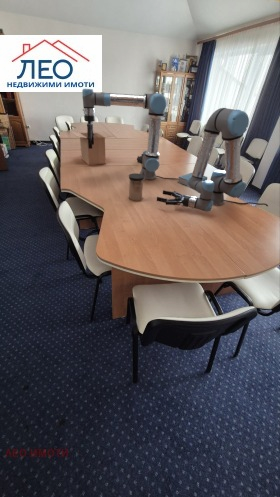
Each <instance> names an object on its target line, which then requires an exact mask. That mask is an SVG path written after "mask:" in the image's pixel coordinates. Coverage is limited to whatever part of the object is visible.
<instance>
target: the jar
mask: <svg viewBox="0 0 280 497" xmlns="http://www.w3.org/2000/svg"><path fill="white" fill-rule="evenodd" d="M143 187H144V180H142V181H133V180H130V179H129V184H128V199H129V200H131V201H135V202H136V201H138V202H139V201H141V200H142V199H143V190H144V188H143Z"/></svg>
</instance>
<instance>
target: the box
mask: <svg viewBox="0 0 280 497" xmlns="http://www.w3.org/2000/svg"><path fill="white" fill-rule="evenodd" d="M70 133H71V134H72V135H74V136H75V137H77V138H79V144H80V153H81V160H83V162H85V163H86V165H87V166H95V165H97V166H98V165H106V163H107V162H106V158H107V157H106V138H113V137H114V136H113V135H111V134H109V133H108V132H105V131H98V132H96V131H95V130H93V133H94V135H93V136H94V145H92V149H89V146H88V139H87V137H88V133H87V130H77V132H76V131H70Z"/></svg>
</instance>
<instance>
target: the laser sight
mask: <svg viewBox="0 0 280 497" xmlns="http://www.w3.org/2000/svg"><path fill="white" fill-rule="evenodd" d="M142 159H143V153H141V155H140V156H139V155H137V157H136V163H140V164H142Z"/></svg>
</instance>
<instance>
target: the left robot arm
mask: <svg viewBox="0 0 280 497" xmlns="http://www.w3.org/2000/svg"><path fill="white" fill-rule="evenodd" d="M81 93H82V94H81V95H82V106H83V108H82V111H83V114H84V115H83V119H84V122H87V124H86V129H87V130H86V131H87V133H88V137H87V139H88V146H89V149H92V145H94V136H93V135H94V133H93V131H94V122H95V121H96V118H95V116H96V115H95V114H96V112H95V107H96V106H97V107H111V106H116V107H117V106H118V107H119V106H121V107H132V108H133V107H137V108H143V109H144V110H148V117H149V127H148V136H147V137H148V138H147V150H143V151H142V154H143V159H142V163H141V169H140V172H139V174H142V175H144V180H146V181H154V180H156V178H160V179H164V180H177V178H174V177H162V176H160V175H157V174H156V171H158V170H159V168H160V153H159V144H160V135H161V126H162V119H163V118H164V116H165V110H166V108H167V105H168V104H167V99H166V97H165V96H164V94H162V93H159V92H153V93H144V94H132V93H131V94H130V93H129V94H128V93H115V92H104V91H103V92H94V89H93V88H82V90H81Z"/></svg>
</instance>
